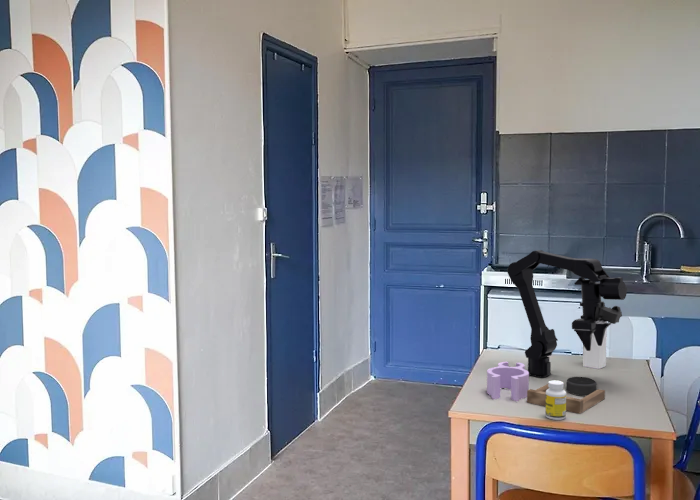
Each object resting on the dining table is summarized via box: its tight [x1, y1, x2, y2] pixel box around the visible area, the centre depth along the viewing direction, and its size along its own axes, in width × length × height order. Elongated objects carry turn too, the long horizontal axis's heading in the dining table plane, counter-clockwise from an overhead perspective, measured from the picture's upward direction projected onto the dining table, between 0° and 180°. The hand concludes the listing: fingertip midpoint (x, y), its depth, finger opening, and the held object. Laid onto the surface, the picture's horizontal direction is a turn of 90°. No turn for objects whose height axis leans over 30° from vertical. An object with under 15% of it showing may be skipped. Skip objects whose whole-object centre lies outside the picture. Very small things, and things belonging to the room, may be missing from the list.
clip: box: [486, 361, 530, 402], centre depth 209 cm, size 20×12×7 cm, turn 160°
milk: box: [582, 327, 608, 370], centre depth 237 cm, size 6×6×22 cm
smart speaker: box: [565, 376, 598, 397], centre depth 207 cm, size 9×9×4 cm
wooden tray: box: [526, 383, 606, 415], centre depth 199 cm, size 16×18×4 cm
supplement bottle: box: [544, 379, 567, 421], centre depth 184 cm, size 5×5×10 cm
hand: (594, 348), depth 213 cm, fingers open, 9 cm apart
